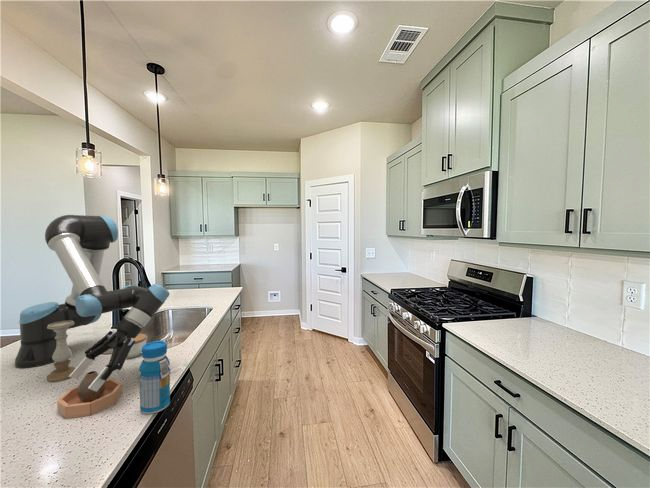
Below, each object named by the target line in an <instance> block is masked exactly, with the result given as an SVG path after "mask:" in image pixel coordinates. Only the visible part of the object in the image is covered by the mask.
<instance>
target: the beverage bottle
mask: <svg viewBox="0 0 650 488" xmlns="http://www.w3.org/2000/svg"><path fill="white" fill-rule="evenodd" d="M167 352H168V344H167V342H166V341H164V340H156V341H151V342H148V343H147V342H146V344H145V345H143V347H142V352H141V357H142V359H143V360H142V361H141V363H140V365H139V369H138V371H139V376H138V381H139V404H140V405H139V410H140V412H141V413H142V414H147V415H149V414H150V415H151V414H156V413H159V412H162V411H163V410H165V409H166V408H167V407H169V406H170V404H171V382H170V381H171V379H170V376H171V373H170V371H171V368H170V367H169V366H170V362H171V361H170V359H169V358H168V356H167V355H166V354H167Z"/></svg>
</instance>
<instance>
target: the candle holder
mask: <svg viewBox="0 0 650 488" xmlns="http://www.w3.org/2000/svg"><path fill="white" fill-rule="evenodd" d="M72 325H74V321H60V322H55V323H51V324H49V325H48V326H47V329H54V332H56V337H55V338H54V339H56V341H57V345H56V349H55V351H54V353H53V356H52V359H53V361H54V362H53V366H54V368H55V369H54V370H52V371H51V372H50V373H49V374H48V375H47V376H46V381H48V382H50V383H54V382H60V381H65V380H67V379H70V378H71V377H69V375H70V374H71V373H72V372H73V371H74V370H75V369H76V367H74V366H69V365H70V363H71V359H70V358H71V357H72V354H73V353H72V350H71V349H70V348H69V346H68V342H67V338H68V337H69V334H67V331H68V330H70V329H69V327H70V326H72ZM71 379H72V378H71Z"/></svg>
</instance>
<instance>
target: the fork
mask: <svg viewBox="0 0 650 488" xmlns="http://www.w3.org/2000/svg"><path fill="white" fill-rule="evenodd" d="M190 362H191V359H190V358H186V359H185V360H183V362H182V363H180V364H179V365H178V366H175V367H174V368H172V369H170V374H172V373H174V372H175V371H177V370H182V369H184V368H186V367H187V366H188V365H189V363H190Z"/></svg>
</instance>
